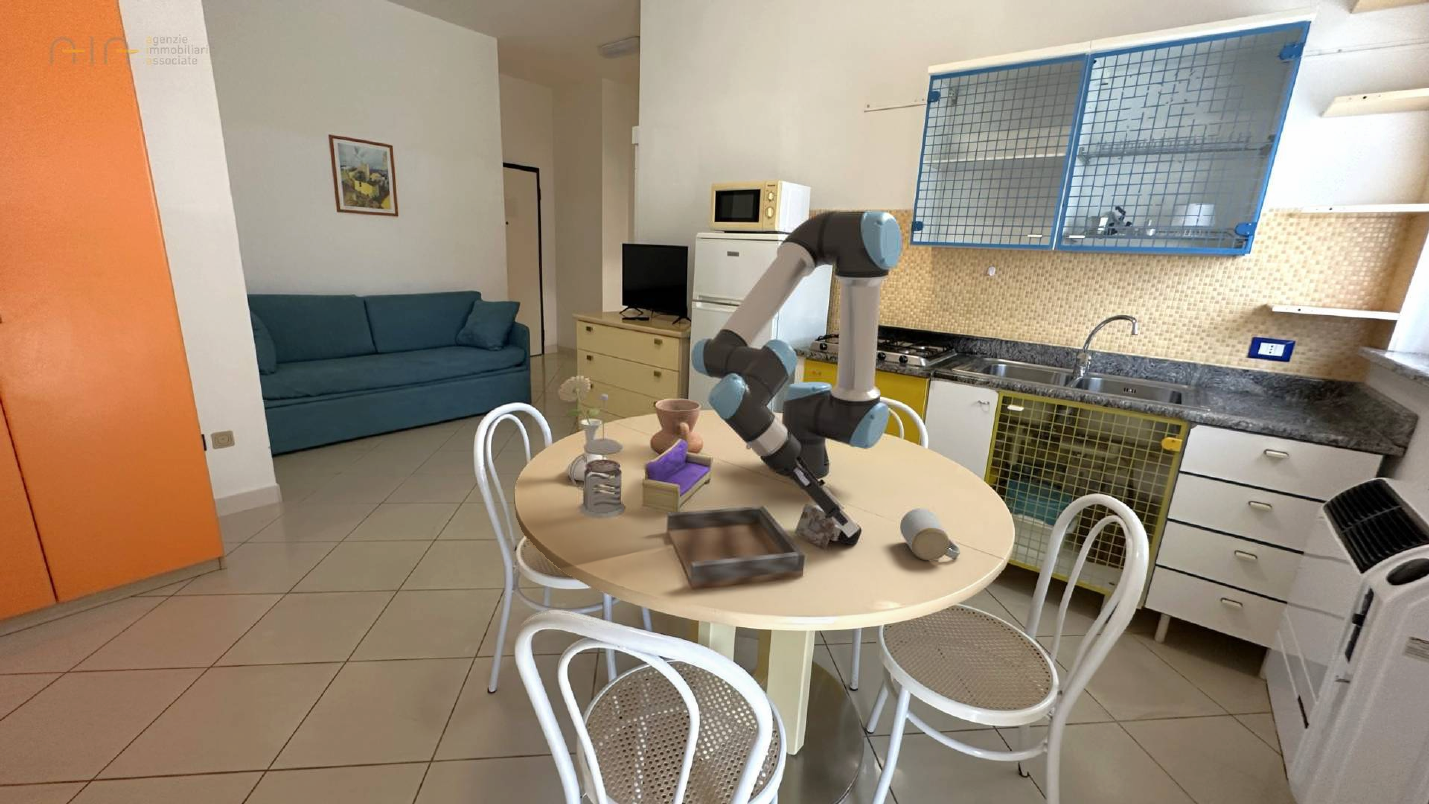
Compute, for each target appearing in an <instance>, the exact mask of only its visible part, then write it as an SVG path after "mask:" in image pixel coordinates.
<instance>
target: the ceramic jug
mask: <svg viewBox="0 0 1429 804" xmlns="http://www.w3.org/2000/svg"><path fill="white" fill-rule="evenodd" d="M655 411H656V412H655V413H656V416H657V420H658V422H659V424H660V427H661V429H660V430H659V431H657V432H656V433H654V434H653V436H652V437H651V438H650V442H649V443H650V447H651V450H652V451H654V452H655V453H656V454H658V456H660V455H661V454H663V453H664V452H665V451H667V450H668V449H669V448H671V447H672V446H673V445H674V444H675V443H676V442H677V441H678V440H679V439H682V440H685V442H686V443H687V451H686V452H689V453H694V454H700V452H701V451H702V449H703V447H704V441H703V438H702V436H700V434H698V433H697V432H695V431H694V429H695V426H696V424H697V421H698V418H699V416H700V411H701V404H700V403H699V402H698V401H695V400H693V399H687V398H686V399H685V398H677V399H675V398H665V399H662V400H658V401H657V402H656V403H655Z"/></svg>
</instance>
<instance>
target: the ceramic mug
mask: <svg viewBox="0 0 1429 804" xmlns="http://www.w3.org/2000/svg"><path fill="white" fill-rule="evenodd" d="M899 524H900V526H899V529H900V534H901V536H902V537H903V539H904V540H905V542H906V543H907V545H908V547H909V548H910V551H911V552H912V553H913V554H914V555H915V556H916V557H918V558H919V559H921V560H923V561H927V560H931V561H937V560H939V559H941V558H943V557H944V556H945V557H948V558H950V559H953V558H955V559H957V558H958V556H959V555H960V554H961V550H960V548H959V547H958V546H957V544H956V543H955V542H953V541H952V540H951V539H949V536H948V535H949V534H948V533H947V531H946V530H945V528H944V526H943V524H942V522H941V521H940V519H939V518H938V517H937V515H936V514H935V512H933V511H931V510H930V509H927V508H921V507H919V508H914V509H911V510H909V511H908V512H907V513H906V514H904V516H903V517H902V518H901V520H900V523H899ZM949 548H951V549H952V550H951V549H949ZM956 557H957V558H956Z"/></svg>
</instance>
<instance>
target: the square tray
mask: <svg viewBox="0 0 1429 804" xmlns="http://www.w3.org/2000/svg"><path fill="white" fill-rule="evenodd" d="M666 534H667V536H668V539H669V541H670V543H671V546H672V548H673V549H674V553H675V555H676V557H677V559H678V562H679V564H680V566H681V569H682V570H683V573H684V574H685V575H684V576H685V577H686V580H687V582H688V584H689V586H690V589H691V590H696V589H706V588H716V587H723V586H734V585H742V584H749V583H750V584H751V583H759V582H760V583H761V582H766V581H777V580H785V579H794V578H803V576H804V570H805V569H804V568H805V566H804V565H805V557H806V554H805V553H804V552H803V551H802V550H801V548H800V547H799V546H798V545H797V544H796V543H795V541H794V540H793V539H792V538H791V537H790V536H789V534H788V533H787V532H786V531H785V530H784V528H783V527H782V526H781V525H780V524H779V523H778V522H777V520H776V519H775V518H774V517H773V516H772V514H771V513H770V512H769V511H768V509H766V507H764V506H763V505H760V506H759V505H758V506H746V507H745V506H744V507H733V508H732V507H731V508H717V509H705V510H702V509H701V510H691V511H690V510H688V511H679V512H675V513H669V512H667V521H666Z"/></svg>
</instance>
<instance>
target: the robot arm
mask: <svg viewBox="0 0 1429 804" xmlns="http://www.w3.org/2000/svg"><path fill="white" fill-rule="evenodd" d="M902 241H903V240H902V232H901V228H900V225H899V223H898V222H897V220H896V218H895V217H894V216H893V215H892V214H890V213H889V212H885V211H877V210H860V211H856V210H855V211H854V210H853V211H836V210H835V211H834V210H833V211H829V210H828V211H824V212H820V213H818V214H816V215H814V216H811V217H810V218H808V219H805V221H803V222H802V223H801V224H799V225H798V226H797V227H796V228H794V229H793V230H792V231H791V232H790V233H789V234H788V235H787V236H786V238H784V239H783V241H782V242H781V243H780V245H779V246H778V247H777V250H776V257H775V258H774V260H773V261H772V263H771V264H769V266H768V267H767V269H766V270H765V271H764V272H763V274H762V275H761V277H760V278H759V279H758V280H757V282H756V283H755V284H754V285H753V287H751V288H752V289H751V290H750V291H749V292H748V294H747V295H746V296H745V298H744V299H742V301H741V302H740V304H739V305H738V306H737V308H736V309H735V310H734V311H733V313H732V314H731V315H730V317H729V318H728V320H727V321H726V322H725V323H724V324H723V325H722V327H721V329H720V330H719V331H718V333H716V335H715V336H714V337H713V339H712V338H703V339H701V340H698V341H697V342H696V343H695V344H694V346H693V348H692V350H691V354H690V355H691V356H690V358H691V360H690V361H691V364H692V367H693V369H694V370H695V371H696V372H697V373H699V374H702V375H704V376H706V377H709V378H712V379H713V378H715V379H720V380H719V382H717V383H716V384H715V385H714V386H713V387H712V388H711V390H710V391H709V394H708V397H707V401H708V403H709V405H710V407H712V409H713V410H714V411H715V412H716V414H717V415H718V416H719V418H720V419H721V420H723V421H724V422H725V423H726V424H727V425H728V426H729V427H730V428H731V429H732V430H733V432H735V434H737V435H738V436H739V438H741V439H742V441H743V442H745V444H746V445H745V449H746V450H748V451H749V450H750V449H751V450H752V451H753V452H754V453H755V454H756V455H757V456H759V458H760V460H761V461H762V462H763V463H764V464H765V465H766V466H767V468H768V469H770V470H771V471H772V472H776V473H779V474H781V475H784V476H786V477H789V479H791V480H793V481H794V482H795V483H796V485H798V487H800V489H801V490H803V491H805V492H806V493H807V495H808V496H809V497H810V498H811V499H812V500H813V501H814V502H815V503H816V505H819V506H820V508H821V509H822V510H823V511H824V512H825V513H826V515H825V518H826V519H827V518H831V519H832V520H833V521H834V522H835V523H836V524H837V525H838V526H839V527H840V529H841V530H842V531H843V532H844V533H845V534H846V535H847V536H848V537H850V536H852V535H853V534H854V533H855V532H856V531H858V530H859V529H860V528H861V527H860V528H859V527H858V526H857V525H858V524H857V523H856V522H855V520H853V519H852V518H851V516H849V514H847V512H845V510H844V509H845V507H844V506H843V505H842V504H841V502H839V500H838V499H837V498H836V497H835V496H834V495H833V494H832V493H831V492H830V491H829V490H828V488H826V486H825V484H826V481H824V480H823V477H825V476H827V475H829V473H830V464H831V463H830V460H829V455H828V451H827V445H826V439H827V440H829V441H830V440H831V441H835V442H837V443H839V444H840V443H841V444H843V445H847V446H850V447H852V448H854V447H855V448H859V449H863V450H865V449H866V450H867V449H871V448H873V447H874V446H875V445H876V444H877V443H878V442H879V441H880V440H881V438H882V437H883V434H884V432H885V430H886V428H887V427H888V426H887V425H888V421H889V417H890V410H889V407H888V405H887V404H885V402H881V390H880V389H878V387H877V386H875V379H876V378H875V377H876V365H877V363H876V362H877V349H878V333H879V331H878V330H879V320H880V319H879V318H880V303H881V301H880V300H881V286H882V283H883V281H885V280H886V279H888V277H889V274H890V270H892V269H893V268H894V267H896V265H898V263H899V261H900V256H901V254H902V247H903V242H902ZM827 265H828V266H834V277H835V278H836V279H837V280H838V281H839V282H840V300H839V301H840V304H839V324H838V325H839V329H838V330H839V331H838V352H837V356H838V357H837V375H836V376H837V377H836V378H837V379H836V384H835V385H834V386H833V387H832V385H831V384H830V383H828V382H821V381H807V382H806V381H804V382H794V383H791V384H788V385H787V386H786V388H785V390H784V397H783V400H782V402H783V406H782V417H781V420H780V419H779V418H778V417H777V416H776V415H775V414H774V413H773V412H772V411H771V409H770V408H769V406H768V405H769V404H770V402H771V401H772V400H773V399H774V398H775V396H776V395H777V393H778V392H779V391H780V389H782V387H783V386H784V384H785V383H786V382H787V381H788V380H789V379H790V377H791V375H792V373H793V371H794V370H795V368H796V367H797V365H798V363H799V362H798V361H799V360H798V357H797V353H796V351H795V350H794V348H793V347H792V346H790V345H789V343H787V342H785V341H783V340H780V339H777V338H774V339H771V340H768V341H767V342H766V343H765V344H763V346H761V348H758V347H757V348H756V347H753V346H755V343H756V342H757V341H758V340H759V338H760V337H761V336H762V334H763V332H765V330H766V328H767V327H768V326H769V324H770V323H771V322H772V321H773V319H774V318H775V316H776V315H777V314H778V313H779V311H780V310H781V308H782V307H783V306H784V304H785V303H786V302H787V301H788V299H789V297H790V296H791V295H792V293H793V292H794V291H795V289H797V286H799V284H800V283H801V281H802V280H803V279H804V278H805V277H809V276H810V275H812V274H813V273H814V271H815V270H816V269H817V268H818V267H821V266H827ZM819 478H822V479H820V480H819ZM855 523H856V524H857V525H856V524H855Z"/></svg>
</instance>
